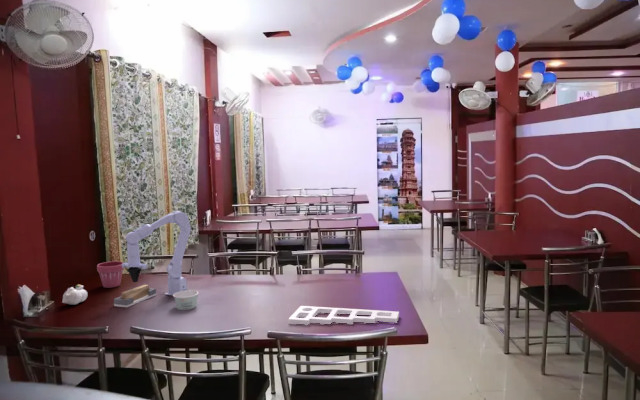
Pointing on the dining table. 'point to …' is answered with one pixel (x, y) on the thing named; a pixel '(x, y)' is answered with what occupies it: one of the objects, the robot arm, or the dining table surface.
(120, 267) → the plant pot
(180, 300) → the food container
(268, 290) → the dining table surface
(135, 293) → the oak slat
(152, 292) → the cradle
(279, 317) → the dining table surface
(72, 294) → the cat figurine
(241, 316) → the dining table surface
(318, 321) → the holder
